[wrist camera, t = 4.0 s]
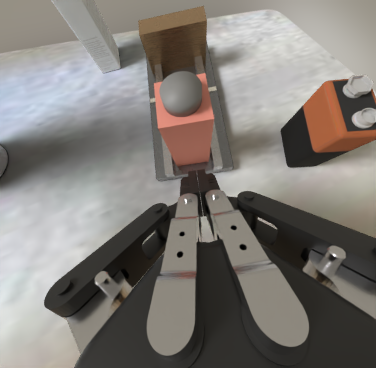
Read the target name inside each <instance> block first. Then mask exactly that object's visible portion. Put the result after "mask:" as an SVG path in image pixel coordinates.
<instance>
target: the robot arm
mask: <svg viewBox="0 0 376 368" xmlns="http://www.w3.org/2000/svg"><path fill="white" fill-rule="evenodd" d="M7 160H8V157H7V152H6V150H5V149H4V148H3V147H2V146H0V177H1V175H2V174H3V172H4V170H5V168H6V165H7ZM197 176H198V179H197ZM198 183H199V185H198ZM199 190H200V192H199ZM200 196H201V199H200ZM201 203H202V206H201ZM202 209H203V214H202ZM203 215H204V216H207V220H208V224H209V228H210V231H211V234H212V238H213V242H209V243H207V242H202V225H201V217H202V216H203ZM258 217H259V218H261V219H263V220H265V221H267V222H270V223H272V224H273V225H275V226H276V227H277V229H278V230H277V229H275V228H273V227H271V226H269V225H267V224H265V223H263V222H261V221H259V220H258ZM154 231H155V233H154V234H153V235H152V236H151V237H150V238H149V239H148V240H147V241H146V242H145V243H144V244H143V245H142V243H143V242H144V240H145V239H146V238H147V237H148V236H149V235H151V234H152V233H153V232H154ZM164 251H165V253H164V254H163V252H164ZM162 254H163V255H162ZM161 255H162V256H161ZM160 256H161V257H160ZM156 260H157V261H156ZM151 266H152V267H151ZM150 267H151V268H150ZM149 268H150V269H149ZM146 272H147V273H146ZM145 273H146V274H145ZM144 274H145V275H144ZM143 275H144V276H143ZM142 276H143V277H142ZM141 278H142V279H141ZM140 279H141V280H140ZM139 280H140V281H139ZM138 281H139V282H138ZM137 282H138V283H137ZM136 283H137V285H136V286H135V284H136ZM134 286H135V287H134ZM133 287H134V288H133ZM132 288H133V290H132ZM44 305H45V307H46V308H47V309H49V310H51V311H52V312H54V313H56V314H57V315H59V316H61V317H62V318H64V319H66V320H67V321H68V324H69V326H70V329H71V331H72V333H73V336H74V338H75V341H76V343H77V346H78V348H79V351H80V353H81V355H80V357H79V359H78V361H77V363H76V365H75V367H74V368H376V238H373V237H371V236H368V235H365V234H363V233H360V232H357V231H355V230H352V229H350V228H347V227H344V226H342V225H339V224H336V223H334V222H331V221H328V220H326V219H323V218H321V217H318V216H315V215H313V214H310V213H307V212H305V211H302V210H299V209H297V208H294V207H292V206H289V205H286V204H284V203H281V202H278V201H276V200H273V199H270V198H268V197H265V196H263V195H260V194H257V193H255V192H251V191H244V192H241V193H239V194H238V198H237V197H228V196H226V194H225V193H224V192H223V191H221V190H220V188H219V185H218V183H217V180H216V178H215V175H213V174H212V173H209V174H206V172H205V169H200V170H197V173H196V170H193V171H188V177H183V178H182V180H181V187H180V197H179V199H178V202H177V203H175V204H174V205H171V206H167V205H166V204H163V203H159V204H155V205H153V206H152V207H150V208H149V209H148V210H146V211H145V212H144V213H143V214H141V215H140V216H139V217H138V218H136V219H135V220H134V221H133V222H131V223H130V224H129V225H127V226H126V227H125V228H124V229H122V230H121V231H120V232H119V233H117V234H116V235H115V236H114V237H112V238H111V239H110V240H109V241H107V242H106V243H105V244H103V245H102V246H101V247H100V248H98V249H97V250H96V251H95V252H93V253H92V254H91V255H90V256H88V257H87V258H86V259H85V260H83V261H82V262H81V263H79V264H78V265H77V266H76V267H74V268H73V269H72V270H71V271H69V272H68V273H67V274H66V275H64V276H63V277H62V278H61V279H59V280H58V281H57V282H56V283H55V284H54V285H53V286H52V287H51V289H50V290H49V291H48V293H47V295H46V297H45V300H44Z"/></svg>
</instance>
